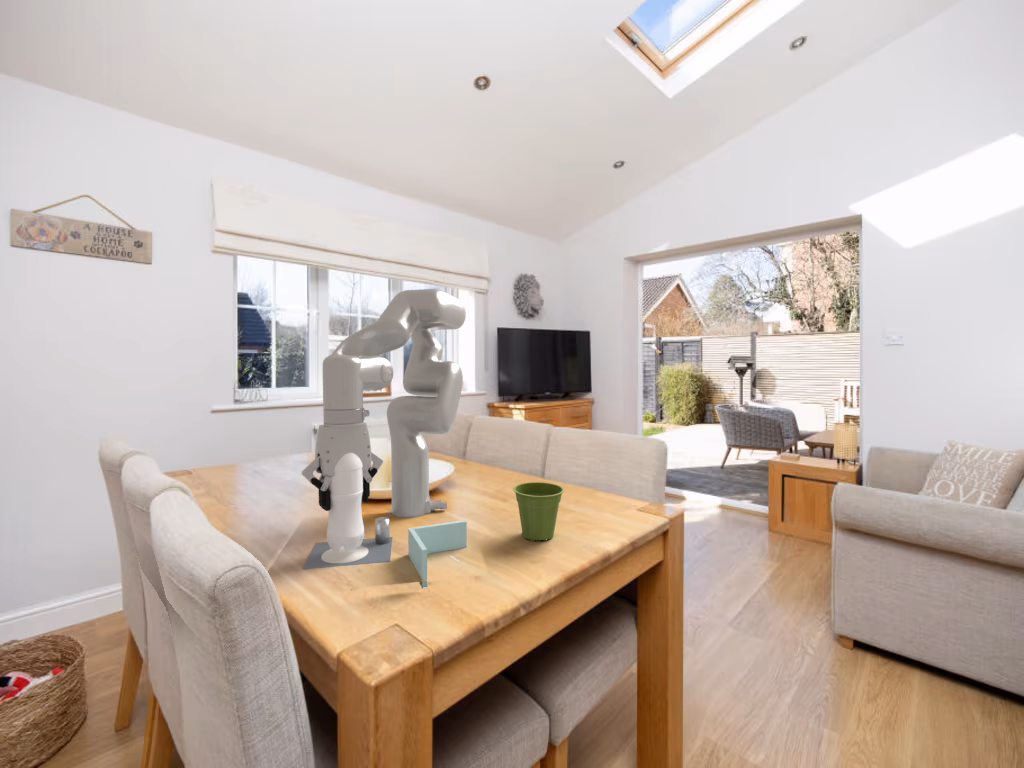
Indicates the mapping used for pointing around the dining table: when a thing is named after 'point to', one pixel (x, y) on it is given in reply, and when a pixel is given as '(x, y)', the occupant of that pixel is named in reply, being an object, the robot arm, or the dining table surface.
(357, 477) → the water bottle
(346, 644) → the dining table surface
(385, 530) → the metal post
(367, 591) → the dining table surface
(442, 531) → the right angle wall
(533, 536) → the plant pot
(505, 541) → the dining table surface
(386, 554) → the board
